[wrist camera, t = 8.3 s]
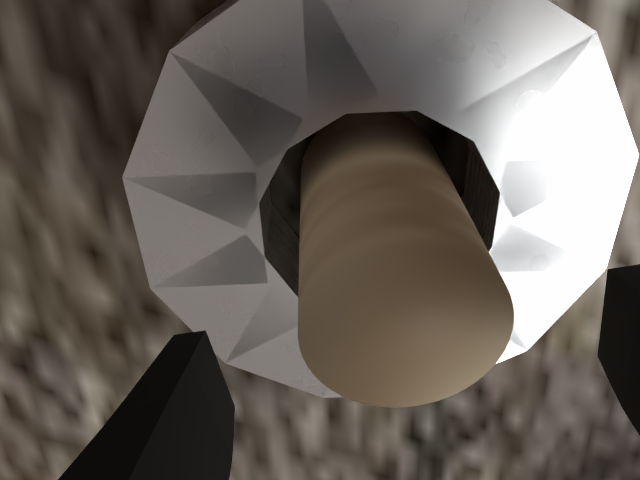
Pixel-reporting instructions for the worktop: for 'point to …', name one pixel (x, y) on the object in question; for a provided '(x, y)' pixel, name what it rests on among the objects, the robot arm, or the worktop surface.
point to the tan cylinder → (392, 268)
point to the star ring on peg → (366, 97)
